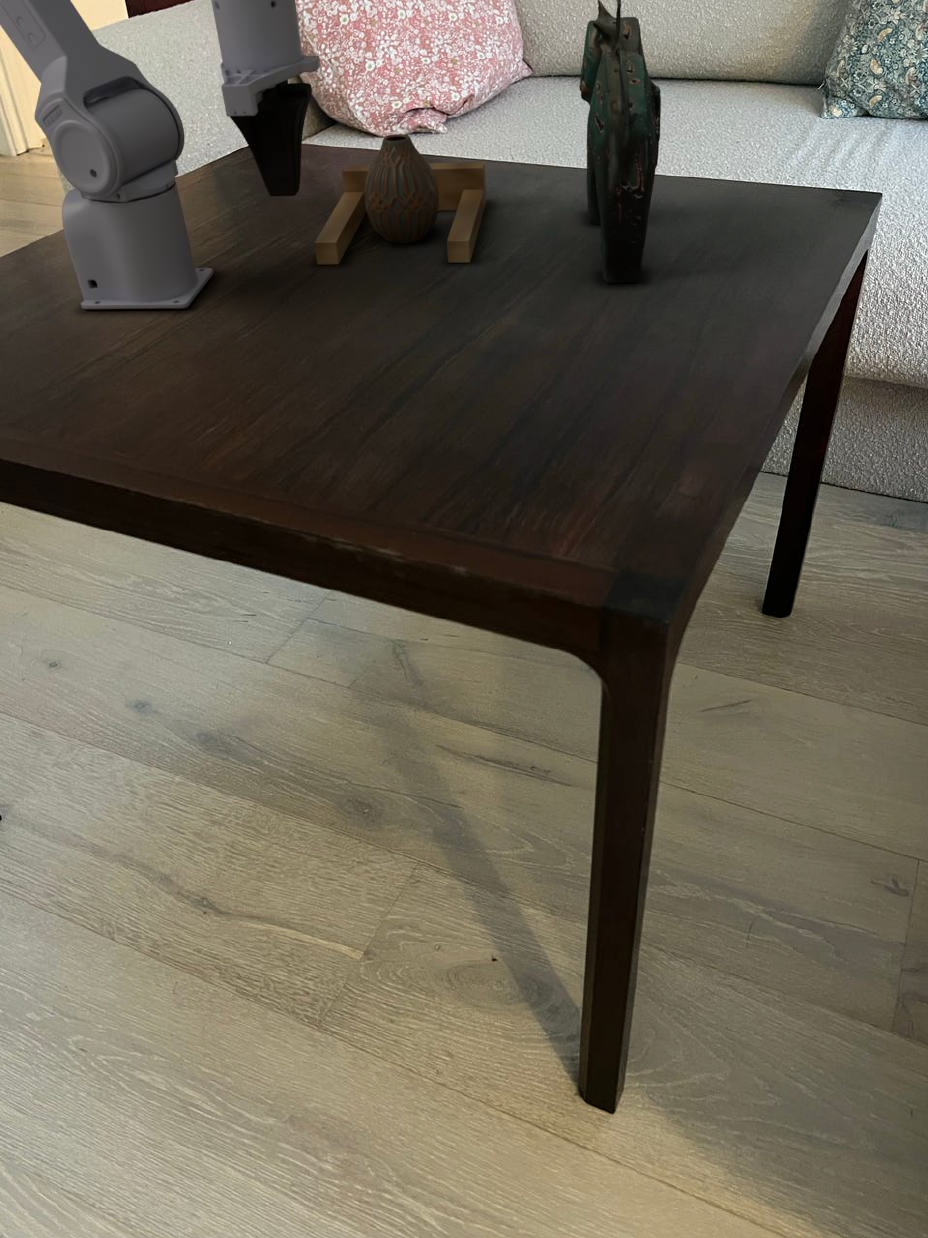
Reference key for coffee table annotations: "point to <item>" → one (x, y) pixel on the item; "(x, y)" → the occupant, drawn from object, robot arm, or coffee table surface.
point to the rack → (456, 192)
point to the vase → (401, 192)
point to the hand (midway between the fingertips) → (284, 193)
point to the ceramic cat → (619, 140)
